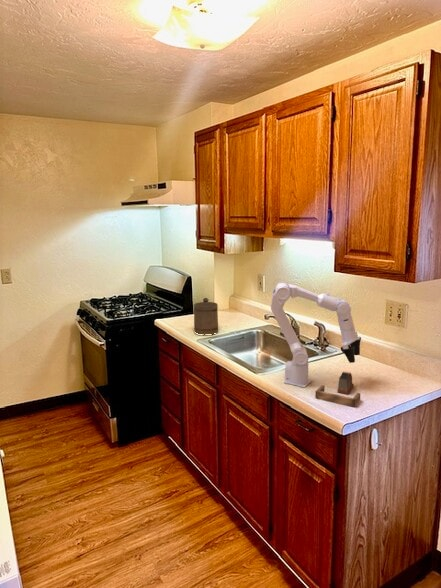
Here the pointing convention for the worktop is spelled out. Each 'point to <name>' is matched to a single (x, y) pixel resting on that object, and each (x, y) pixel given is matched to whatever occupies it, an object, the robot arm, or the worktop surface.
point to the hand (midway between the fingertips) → (354, 358)
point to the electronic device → (345, 383)
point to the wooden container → (206, 317)
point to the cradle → (336, 397)
